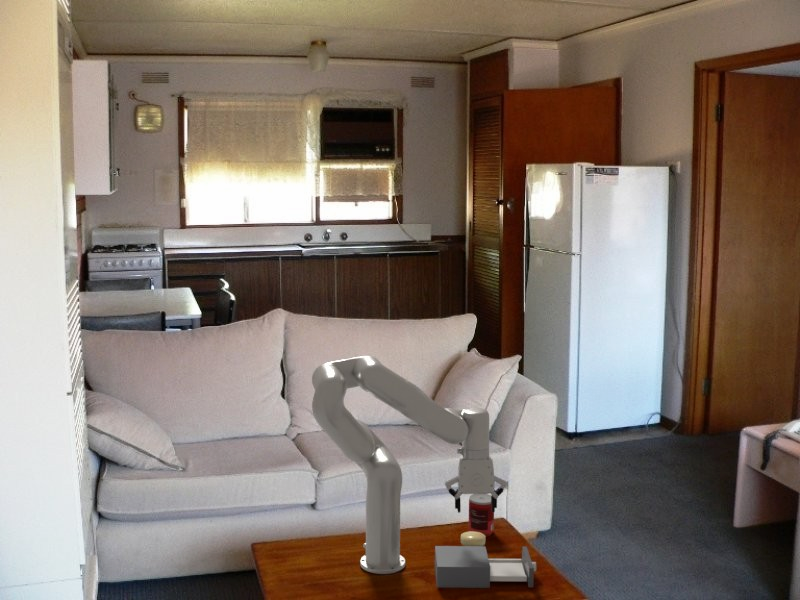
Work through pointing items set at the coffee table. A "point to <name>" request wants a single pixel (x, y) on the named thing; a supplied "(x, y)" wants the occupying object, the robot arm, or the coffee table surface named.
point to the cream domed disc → (472, 539)
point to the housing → (462, 566)
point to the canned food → (481, 514)
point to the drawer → (513, 569)
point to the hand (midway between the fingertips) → (475, 510)
